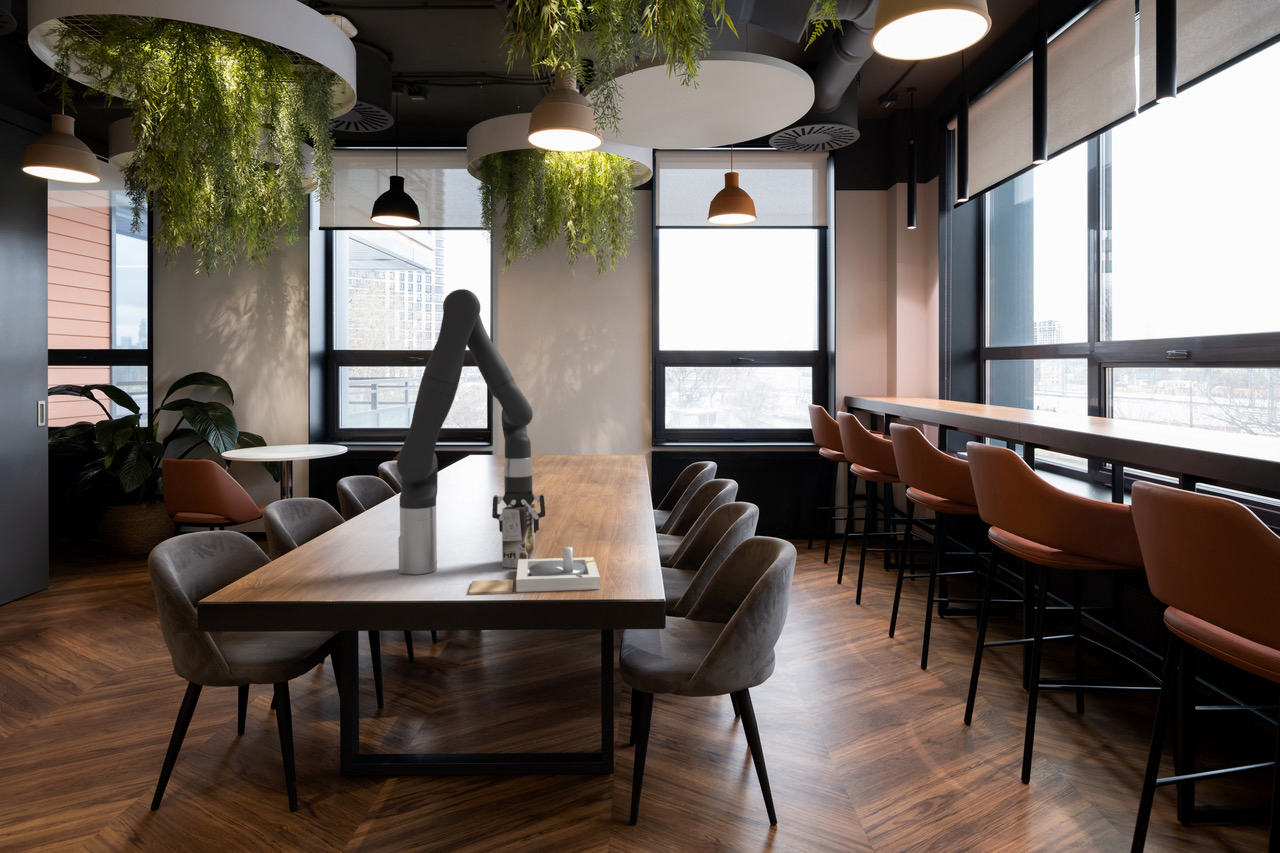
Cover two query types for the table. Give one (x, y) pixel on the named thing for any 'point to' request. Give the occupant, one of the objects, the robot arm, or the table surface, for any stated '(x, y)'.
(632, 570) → the table surface
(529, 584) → the white square tray
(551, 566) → the dial
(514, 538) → the coffee box
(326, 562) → the table surface
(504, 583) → the coaster
